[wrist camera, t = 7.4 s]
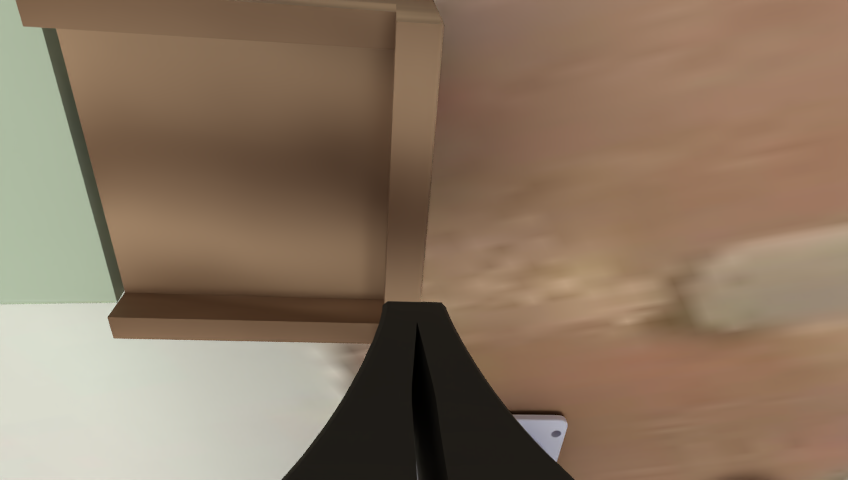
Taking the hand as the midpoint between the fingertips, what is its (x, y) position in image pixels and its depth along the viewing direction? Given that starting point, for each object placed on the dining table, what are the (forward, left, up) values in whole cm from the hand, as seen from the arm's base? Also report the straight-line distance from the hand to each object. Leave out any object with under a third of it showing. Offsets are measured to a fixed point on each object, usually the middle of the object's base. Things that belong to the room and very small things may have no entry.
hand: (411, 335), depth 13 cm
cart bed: (0, +5, -9) cm, 11 cm away
